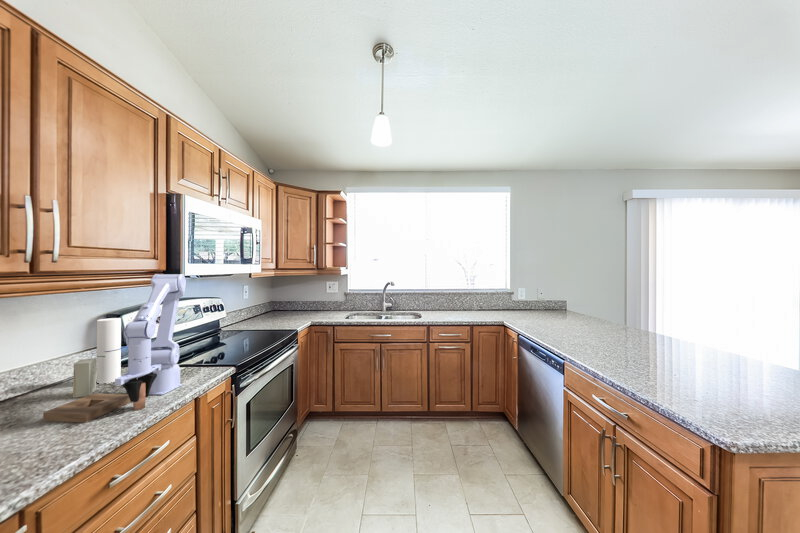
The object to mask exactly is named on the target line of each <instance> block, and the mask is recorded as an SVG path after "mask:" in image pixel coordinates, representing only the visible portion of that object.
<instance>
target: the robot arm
mask: <svg viewBox="0 0 800 533" xmlns="http://www.w3.org/2000/svg"><path fill="white" fill-rule="evenodd" d="M150 284H151V289H152V290H151V293H150V296H149V298H148V300H147V302H146V303H143V304H142V305H141V306H140V308H139V310H138V312H137V314H136V315H135V316H134V319H133V320H132V321H131V322H128V323H127V324H126V326H125V327H124V330H123V331H124V332H123V336H124V338H125V341H126V342H125V344H126V346H128V348H127V349H128V356H127V357H128V360H127V369H128V370H127V371H126V372H125V373H124V374H123V375H121V377H119V378H116V379H115V382H114V385H115V386H122V387H123V388H124V389H125V391H126V394H127V395H129V398H130V401H131V402H130V403H133V402H138V400H139V392H140V387H141V384H142V382H146V390H145V398H148V397H149V395H151V396H153V395H155V396H157V395H158V396H160V395H161V396H163V395H165V394H167V393H170V392H171V391H173V390H176V389H177V388H180V387H181V386H183V383H181V368H180V365H179V364H178V362H179V360H180V345H179V343H177V342H175V340H173V337H174V331H175V324H176V318H177V312H178V307H179V301H180V298H182V297H184V296H185V292H186V287H187V285H186V284H187V281H186V277H185V275H184V274H183V273H180V274H176V273H175V274H172V273H171V274H170V273H169V274H168V273H167V274H166V273H165V274H163V273H162V274H159V273H155V274H154V275H153V276H152V277H151V280H150ZM160 305H161V306H162V307H161V306H160ZM159 316H160V317H159ZM158 317H159V322H158V328H157V332H156V326H157V323H156V321H157V320H158ZM155 333H156V337H155V338H156V339H155V340H154V341H152V338H153V337H154V335H155Z"/></svg>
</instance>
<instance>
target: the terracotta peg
mask: <svg viewBox="0 0 800 533" xmlns="http://www.w3.org/2000/svg"><path fill="white" fill-rule="evenodd" d="M145 390H146V382H142V384H141V387H140V392H139V400H138V402H132V403H133V406H132V407H133V408H132V409H133V411H140V410H143V409H145V408H146V397H145Z"/></svg>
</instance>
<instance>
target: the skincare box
mask: <svg viewBox="0 0 800 533" xmlns="http://www.w3.org/2000/svg"><path fill="white" fill-rule="evenodd" d="M96 376H97V357H95V358H92V357H91V358H84V359H83V358H82V359H79V360H78V361H76V362H75V363H74V364H73V379H72V381H73V382H72V383H73V384H72V388H73V389H72V398H73V399H75V398H83V397H85V396H88V395H91V394H94V392H95V391H96V390H97V383H96Z"/></svg>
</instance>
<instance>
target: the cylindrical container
mask: <svg viewBox="0 0 800 533" xmlns="http://www.w3.org/2000/svg"><path fill="white" fill-rule="evenodd" d="M121 354H122V318H121V317H111V318H100V319H97V320H96V358H97V363H96V382H97V383H99V384H98V385H104V384H103V383H106V384H110V383H111V382H112V383H115V379H116V378H119V377H121V376H122V375H121V374H122V373H121V372H122V368H121V366H122V363H121V362H122V361H121V360H122V358H121V357H122V355H121ZM97 383H96V384H97ZM112 383H111V384H112Z"/></svg>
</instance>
